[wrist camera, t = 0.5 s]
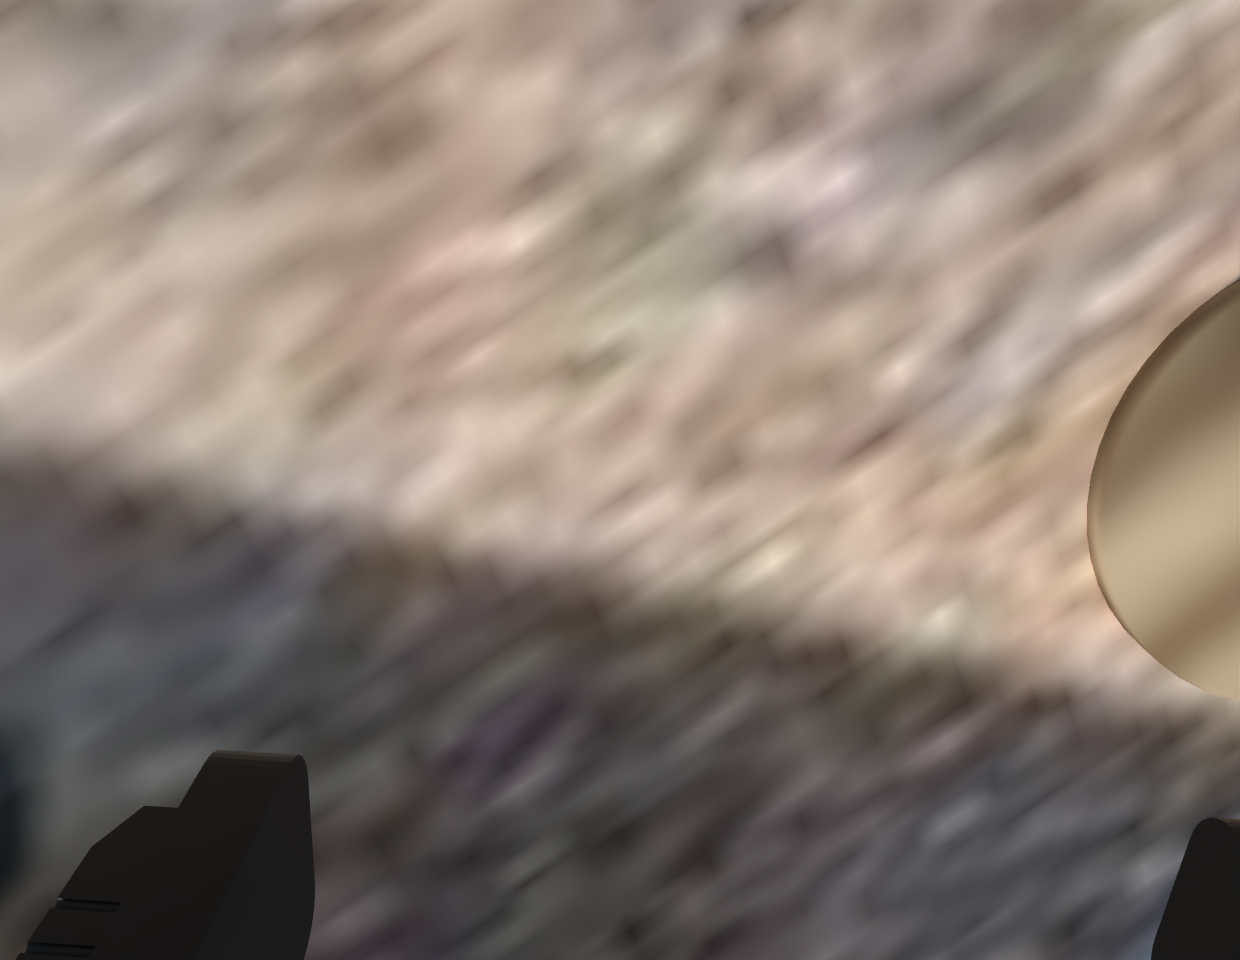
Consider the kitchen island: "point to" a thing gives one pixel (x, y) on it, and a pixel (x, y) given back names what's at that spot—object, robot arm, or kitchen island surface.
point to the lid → (1177, 501)
